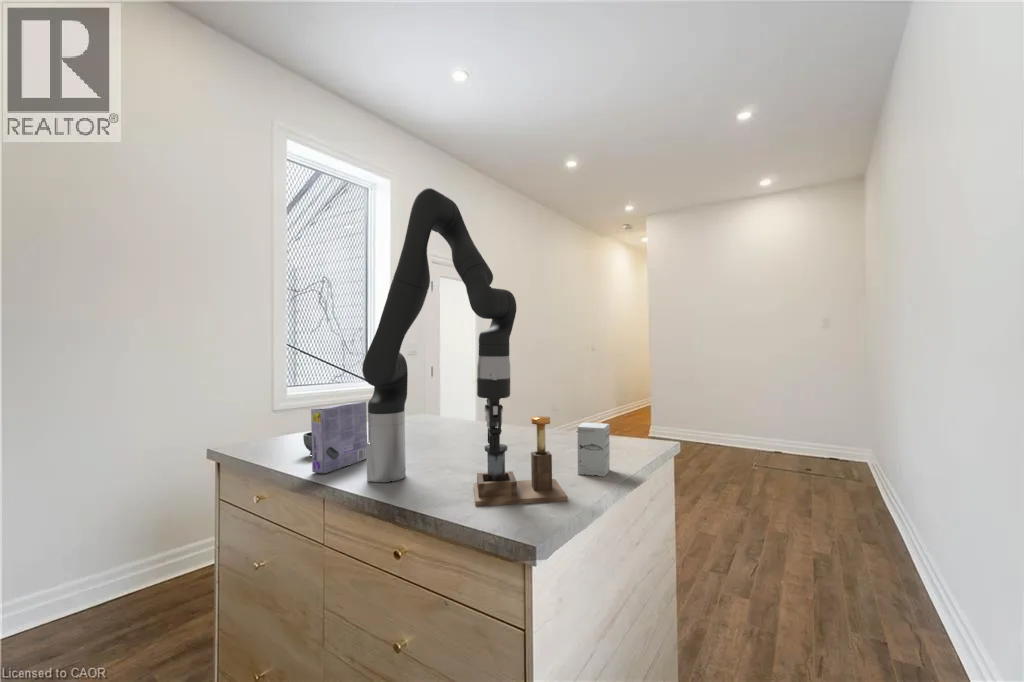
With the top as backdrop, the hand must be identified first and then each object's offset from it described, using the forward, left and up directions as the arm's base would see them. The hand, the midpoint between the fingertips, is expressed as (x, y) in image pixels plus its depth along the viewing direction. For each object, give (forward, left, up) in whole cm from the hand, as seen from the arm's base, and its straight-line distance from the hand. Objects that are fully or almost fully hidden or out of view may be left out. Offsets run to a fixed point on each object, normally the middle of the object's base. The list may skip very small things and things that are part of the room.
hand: (493, 447), depth 105 cm
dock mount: (+6, 0, -11) cm, 12 cm away
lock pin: (+11, 0, -4) cm, 12 cm away
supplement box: (+28, +14, -11) cm, 33 cm away
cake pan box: (-41, +33, -11) cm, 54 cm away
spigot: (+1, 0, -10) cm, 10 cm away
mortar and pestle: (-51, +48, -11) cm, 71 cm away
